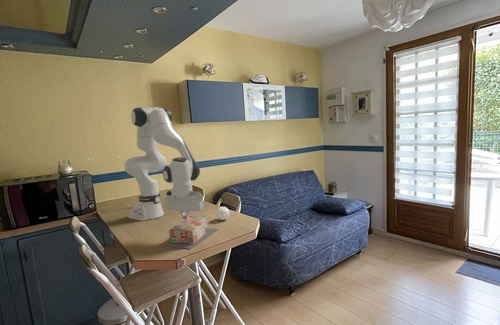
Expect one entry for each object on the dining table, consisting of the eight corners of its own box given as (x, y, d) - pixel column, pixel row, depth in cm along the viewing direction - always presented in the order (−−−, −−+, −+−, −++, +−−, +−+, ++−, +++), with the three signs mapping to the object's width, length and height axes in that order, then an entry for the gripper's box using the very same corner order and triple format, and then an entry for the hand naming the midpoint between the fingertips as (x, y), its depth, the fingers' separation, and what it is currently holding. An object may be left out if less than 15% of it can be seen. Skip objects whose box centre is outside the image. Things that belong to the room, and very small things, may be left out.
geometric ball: (222, 223, 157) (224, 210, 161) (231, 220, 152) (232, 207, 156) (212, 219, 152) (213, 206, 156) (221, 216, 147) (222, 203, 151)
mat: (168, 246, 122) (168, 245, 122) (198, 227, 144) (198, 227, 144) (190, 249, 117) (190, 248, 117) (217, 229, 139) (217, 228, 139)
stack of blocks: (190, 215, 144) (211, 215, 141) (191, 226, 145) (212, 227, 142) (168, 230, 124) (192, 230, 121) (170, 243, 125) (194, 244, 121)
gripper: (205, 190, 128) (207, 218, 130) (170, 189, 136) (173, 215, 138) (197, 193, 122) (200, 222, 124) (162, 192, 130) (165, 219, 132)
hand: (185, 218), depth 131 cm, fingers closed
